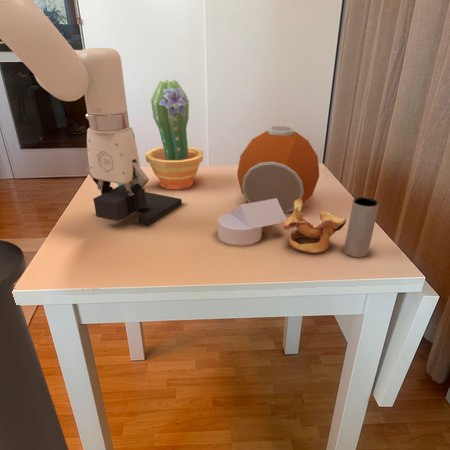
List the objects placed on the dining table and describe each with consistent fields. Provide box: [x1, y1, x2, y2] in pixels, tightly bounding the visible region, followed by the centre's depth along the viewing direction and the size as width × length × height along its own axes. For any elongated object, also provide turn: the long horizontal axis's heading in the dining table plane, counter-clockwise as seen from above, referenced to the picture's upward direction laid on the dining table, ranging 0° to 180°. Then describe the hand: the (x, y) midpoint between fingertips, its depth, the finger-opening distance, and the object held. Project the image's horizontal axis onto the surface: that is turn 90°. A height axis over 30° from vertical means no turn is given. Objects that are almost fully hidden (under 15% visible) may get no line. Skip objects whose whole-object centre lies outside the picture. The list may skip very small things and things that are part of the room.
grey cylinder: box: [343, 196, 380, 258], centre depth 79 cm, size 4×4×10 cm
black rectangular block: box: [92, 184, 146, 222], centre depth 91 cm, size 6×10×4 cm, turn 154°
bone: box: [283, 198, 347, 255], centre depth 82 cm, size 12×10×8 cm
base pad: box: [135, 191, 183, 227], centre depth 98 cm, size 14×14×2 cm
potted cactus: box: [144, 79, 204, 190], centre depth 107 cm, size 15×15×25 cm
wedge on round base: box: [217, 198, 288, 247], centre depth 86 cm, size 9×7×13 cm
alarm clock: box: [236, 125, 320, 213], centre depth 98 cm, size 19×18×17 cm
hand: (121, 208), depth 92 cm, fingers closed on black rectangular block, 5 cm apart
